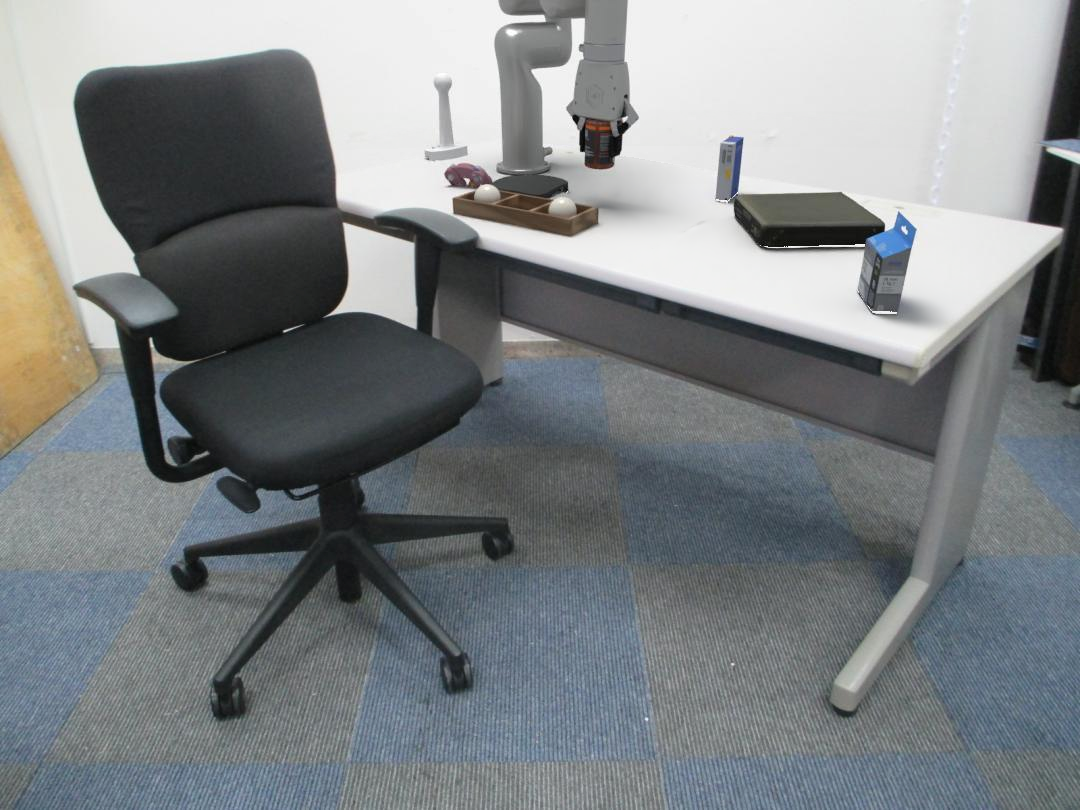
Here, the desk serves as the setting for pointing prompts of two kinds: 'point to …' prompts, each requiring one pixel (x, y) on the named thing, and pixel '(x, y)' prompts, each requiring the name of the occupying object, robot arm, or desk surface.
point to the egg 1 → (487, 194)
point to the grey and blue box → (886, 266)
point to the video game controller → (467, 175)
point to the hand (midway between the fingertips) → (600, 152)
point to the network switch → (806, 219)
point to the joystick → (445, 124)
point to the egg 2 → (562, 207)
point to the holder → (526, 213)
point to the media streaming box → (532, 185)
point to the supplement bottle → (598, 144)
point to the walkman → (729, 167)
